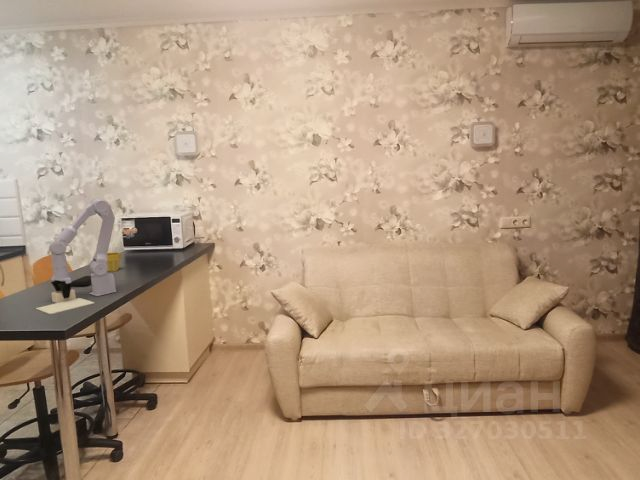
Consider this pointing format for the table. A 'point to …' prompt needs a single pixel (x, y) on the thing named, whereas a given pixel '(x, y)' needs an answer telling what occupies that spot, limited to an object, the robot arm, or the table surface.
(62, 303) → the mat
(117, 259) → the plant pot
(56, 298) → the card deck box
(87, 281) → the carrying case or bag
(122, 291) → the table surface
